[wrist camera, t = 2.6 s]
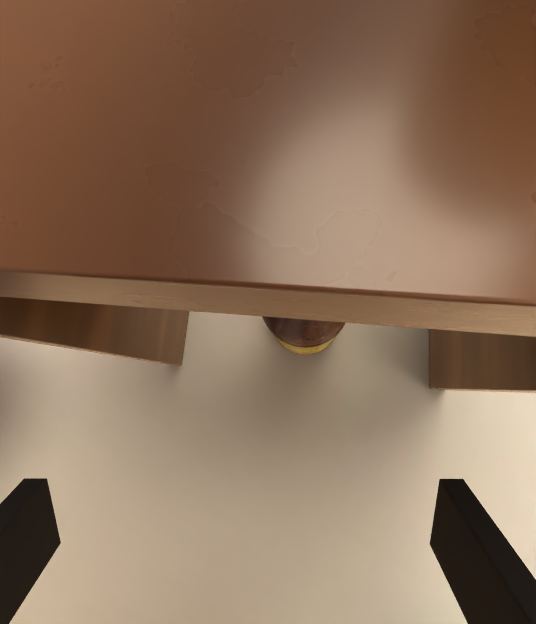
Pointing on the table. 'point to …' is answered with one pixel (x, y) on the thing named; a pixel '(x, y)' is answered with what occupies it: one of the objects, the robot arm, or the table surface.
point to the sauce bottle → (303, 333)
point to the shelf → (272, 173)
